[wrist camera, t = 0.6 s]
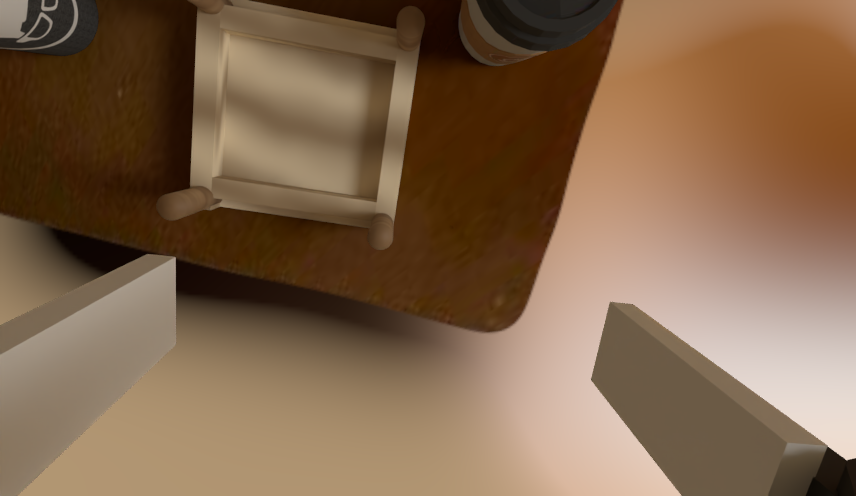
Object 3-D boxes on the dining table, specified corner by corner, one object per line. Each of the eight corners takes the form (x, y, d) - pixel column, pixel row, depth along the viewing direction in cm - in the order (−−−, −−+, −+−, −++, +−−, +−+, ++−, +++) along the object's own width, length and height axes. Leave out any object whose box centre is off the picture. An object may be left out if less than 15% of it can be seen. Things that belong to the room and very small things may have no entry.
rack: (217, -1, 35) (162, -45, 27) (420, 38, 37) (427, 8, 28) (207, 201, 38) (156, 218, 30) (392, 228, 40) (391, 251, 32)
